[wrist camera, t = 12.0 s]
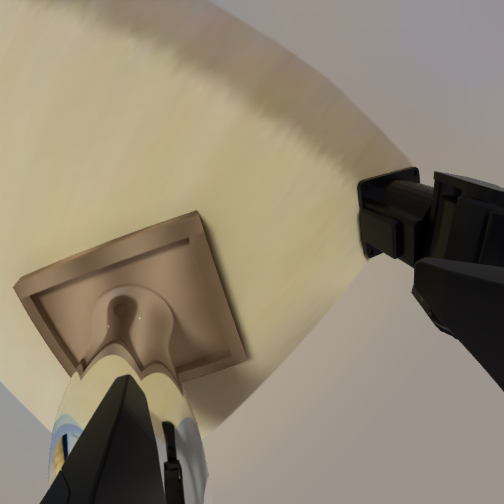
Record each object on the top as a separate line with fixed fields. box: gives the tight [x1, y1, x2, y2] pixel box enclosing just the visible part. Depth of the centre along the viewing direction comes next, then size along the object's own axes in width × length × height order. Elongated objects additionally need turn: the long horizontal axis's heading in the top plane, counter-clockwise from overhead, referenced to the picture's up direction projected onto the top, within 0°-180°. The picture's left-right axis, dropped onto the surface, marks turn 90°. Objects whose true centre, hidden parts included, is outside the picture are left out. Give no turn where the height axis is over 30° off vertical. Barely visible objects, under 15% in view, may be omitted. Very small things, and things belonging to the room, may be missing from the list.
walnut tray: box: [13, 211, 247, 382], centre depth 20 cm, size 14×12×2 cm
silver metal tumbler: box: [48, 286, 213, 504], centre depth 13 cm, size 7×7×15 cm
